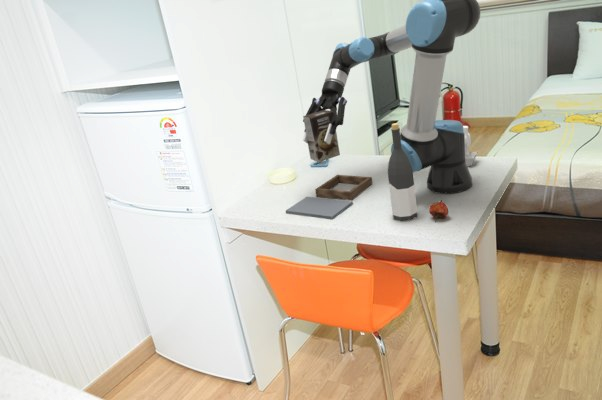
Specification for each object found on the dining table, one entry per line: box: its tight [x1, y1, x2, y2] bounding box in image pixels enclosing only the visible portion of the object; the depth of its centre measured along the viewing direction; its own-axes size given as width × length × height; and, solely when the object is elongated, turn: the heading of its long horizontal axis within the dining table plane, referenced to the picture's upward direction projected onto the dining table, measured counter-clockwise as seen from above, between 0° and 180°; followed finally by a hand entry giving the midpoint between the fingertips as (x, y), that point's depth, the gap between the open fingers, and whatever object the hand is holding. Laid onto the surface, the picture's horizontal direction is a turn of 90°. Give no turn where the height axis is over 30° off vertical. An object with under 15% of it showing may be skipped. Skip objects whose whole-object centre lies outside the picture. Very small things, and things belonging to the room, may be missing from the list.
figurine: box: [463, 125, 478, 167], centre depth 193 cm, size 7×9×15 cm
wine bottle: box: [387, 122, 418, 222], centre depth 157 cm, size 8×8×30 cm
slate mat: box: [285, 196, 354, 220], centre depth 180 cm, size 20×13×1 cm, turn 54°
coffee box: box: [302, 109, 341, 163], centre depth 180 cm, size 9×6×16 cm
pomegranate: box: [428, 199, 449, 223], centre depth 155 cm, size 6×6×8 cm
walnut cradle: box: [314, 174, 373, 201], centre depth 191 cm, size 15×15×3 cm
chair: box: [310, 159, 330, 168], centre depth 225 cm, size 8×8×12 cm
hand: (316, 142), depth 178 cm, fingers closed on coffee box, 9 cm apart
